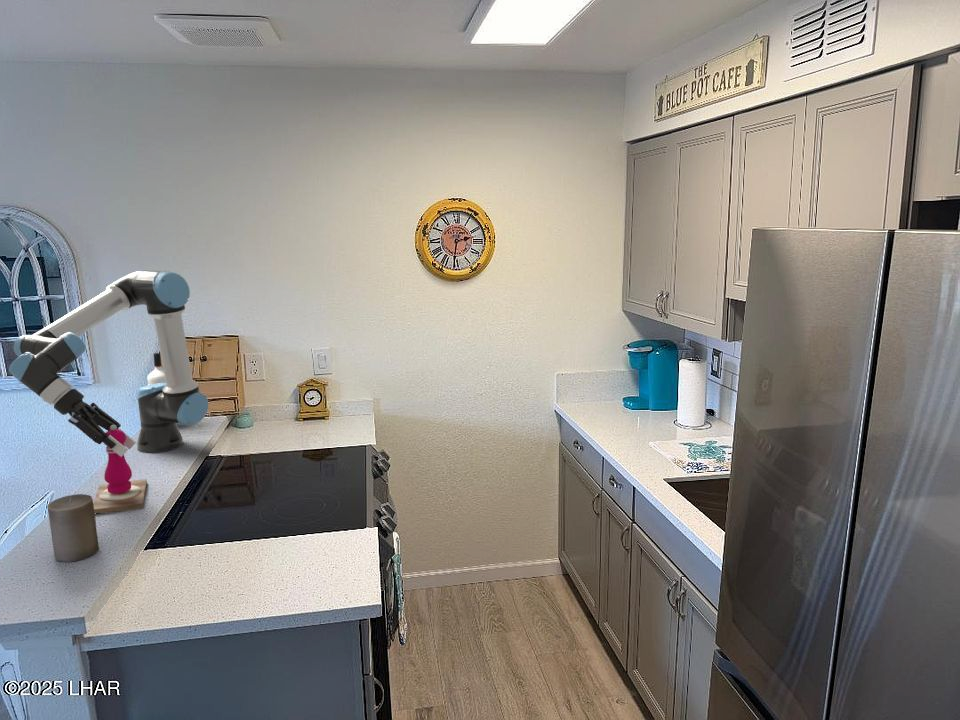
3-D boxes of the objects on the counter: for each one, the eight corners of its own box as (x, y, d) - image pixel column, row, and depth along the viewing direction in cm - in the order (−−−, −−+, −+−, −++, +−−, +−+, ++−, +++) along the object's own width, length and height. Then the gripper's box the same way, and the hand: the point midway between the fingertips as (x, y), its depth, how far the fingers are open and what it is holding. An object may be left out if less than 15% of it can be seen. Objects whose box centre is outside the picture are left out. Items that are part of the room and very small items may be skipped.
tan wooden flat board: (100, 489, 210) (99, 483, 209) (146, 483, 214) (146, 477, 214) (91, 514, 191) (90, 508, 191) (142, 507, 196) (142, 501, 196)
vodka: (151, 424, 276) (144, 351, 270) (176, 422, 279) (170, 350, 273) (149, 430, 267) (142, 355, 261) (175, 428, 271) (169, 354, 265)
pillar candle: (101, 541, 176) (94, 486, 173) (96, 558, 167) (88, 501, 164) (58, 548, 172) (50, 492, 169) (50, 565, 163) (41, 507, 160)
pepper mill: (121, 495, 198) (115, 429, 194) (100, 493, 200) (93, 427, 196) (138, 486, 205) (132, 422, 201) (117, 483, 207) (111, 420, 203)
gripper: (69, 397, 204) (131, 447, 210) (37, 415, 186) (107, 469, 191) (86, 380, 204) (148, 430, 209) (56, 396, 186) (125, 451, 191)
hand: (128, 449), depth 200 cm, fingers closed on pepper mill, 6 cm apart
